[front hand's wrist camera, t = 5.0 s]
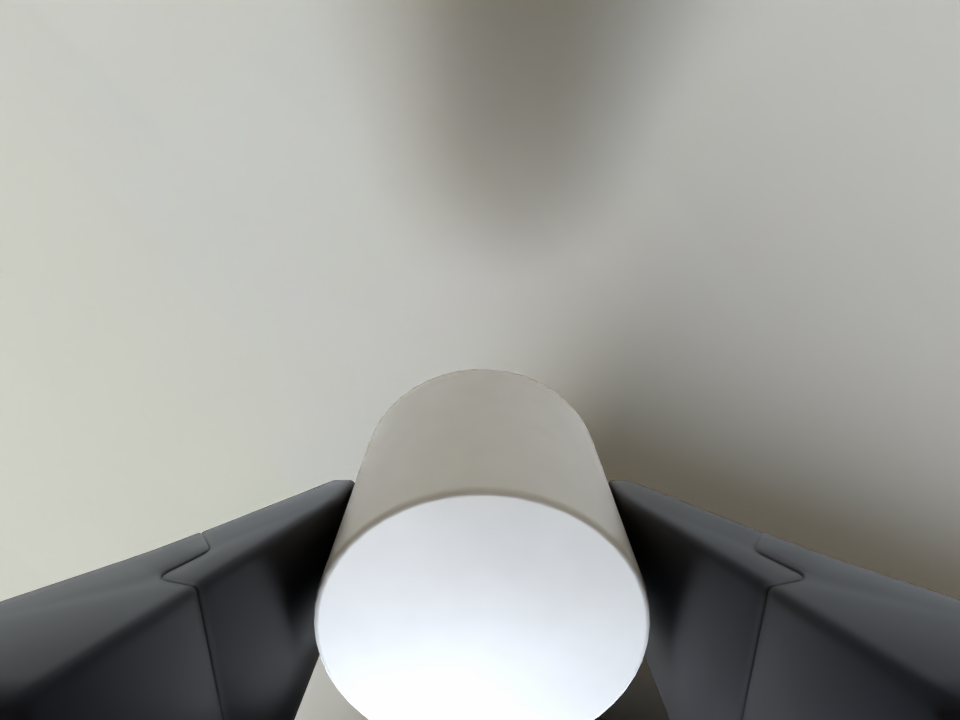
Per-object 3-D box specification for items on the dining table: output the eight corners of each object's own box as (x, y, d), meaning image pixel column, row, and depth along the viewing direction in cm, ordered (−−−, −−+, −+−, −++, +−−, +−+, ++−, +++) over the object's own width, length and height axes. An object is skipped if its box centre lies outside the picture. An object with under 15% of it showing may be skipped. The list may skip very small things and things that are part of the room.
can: (645, 465, 12) (723, 624, 8) (490, 604, 14) (495, 800, 10) (469, 317, 11) (464, 419, 7) (319, 484, 13) (244, 647, 9)
